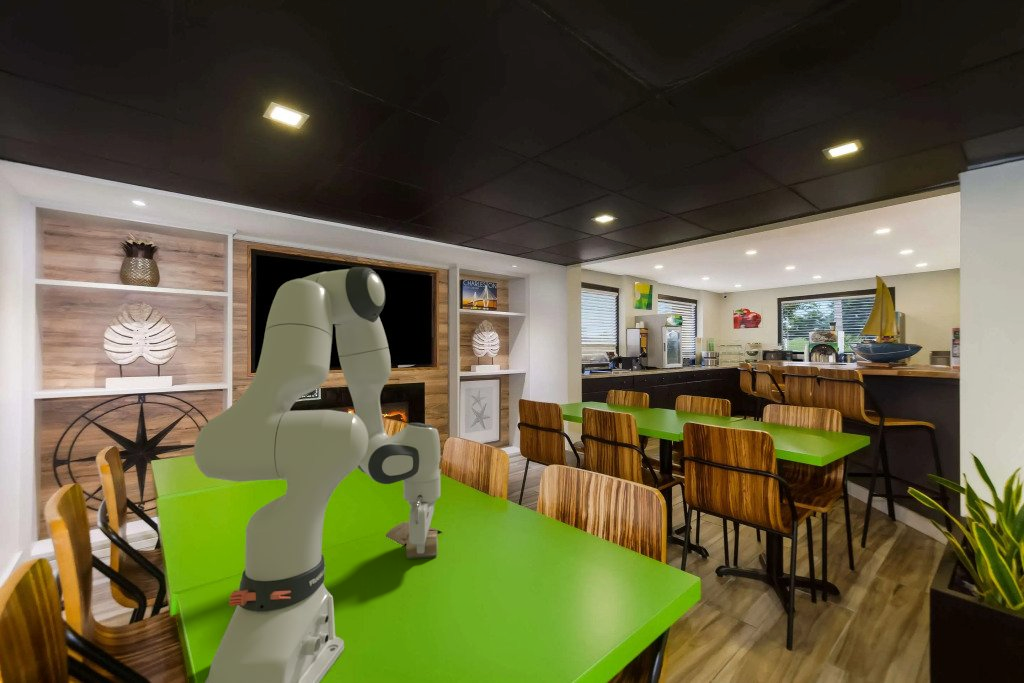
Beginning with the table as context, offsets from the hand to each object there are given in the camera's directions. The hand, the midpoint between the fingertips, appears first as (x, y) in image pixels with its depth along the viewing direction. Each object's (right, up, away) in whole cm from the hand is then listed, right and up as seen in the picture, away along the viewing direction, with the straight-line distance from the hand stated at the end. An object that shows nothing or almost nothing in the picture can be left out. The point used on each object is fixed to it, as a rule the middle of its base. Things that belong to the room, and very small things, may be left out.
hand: (422, 547), depth 106 cm
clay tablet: (-5, -3, +13) cm, 14 cm away
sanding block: (0, -2, 0) cm, 2 cm away
